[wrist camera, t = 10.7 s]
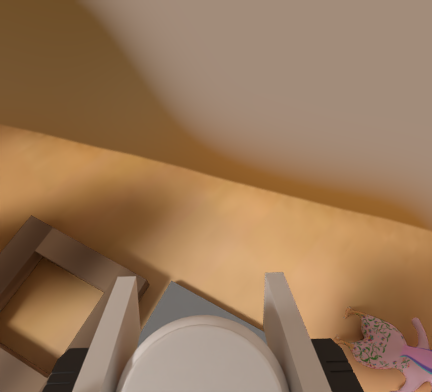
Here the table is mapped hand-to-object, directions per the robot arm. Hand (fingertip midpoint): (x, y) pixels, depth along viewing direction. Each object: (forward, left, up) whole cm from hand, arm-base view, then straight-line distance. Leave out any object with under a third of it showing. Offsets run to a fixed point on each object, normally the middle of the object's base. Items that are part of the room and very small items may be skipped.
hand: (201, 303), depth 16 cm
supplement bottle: (+2, -3, -4) cm, 5 cm away
